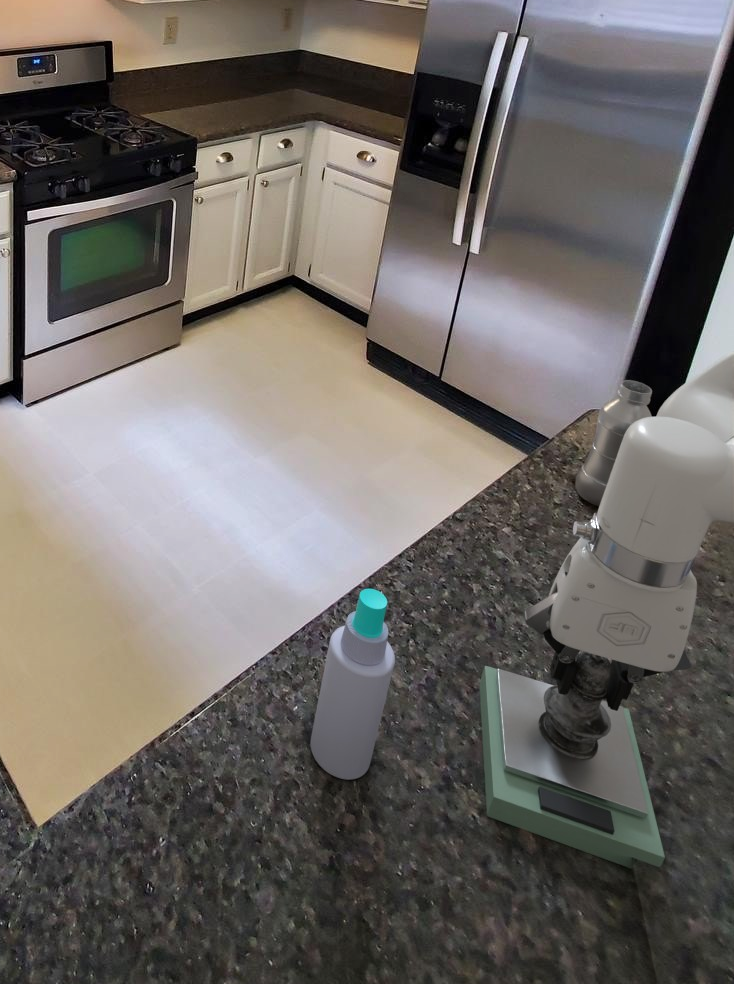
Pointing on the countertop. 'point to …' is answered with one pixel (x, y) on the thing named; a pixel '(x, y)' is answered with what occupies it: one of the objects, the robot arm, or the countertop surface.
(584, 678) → the grey chess piece
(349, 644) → the spray bottle
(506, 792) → the scale
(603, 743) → the scale platform
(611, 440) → the plastic bottle
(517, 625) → the countertop surface
